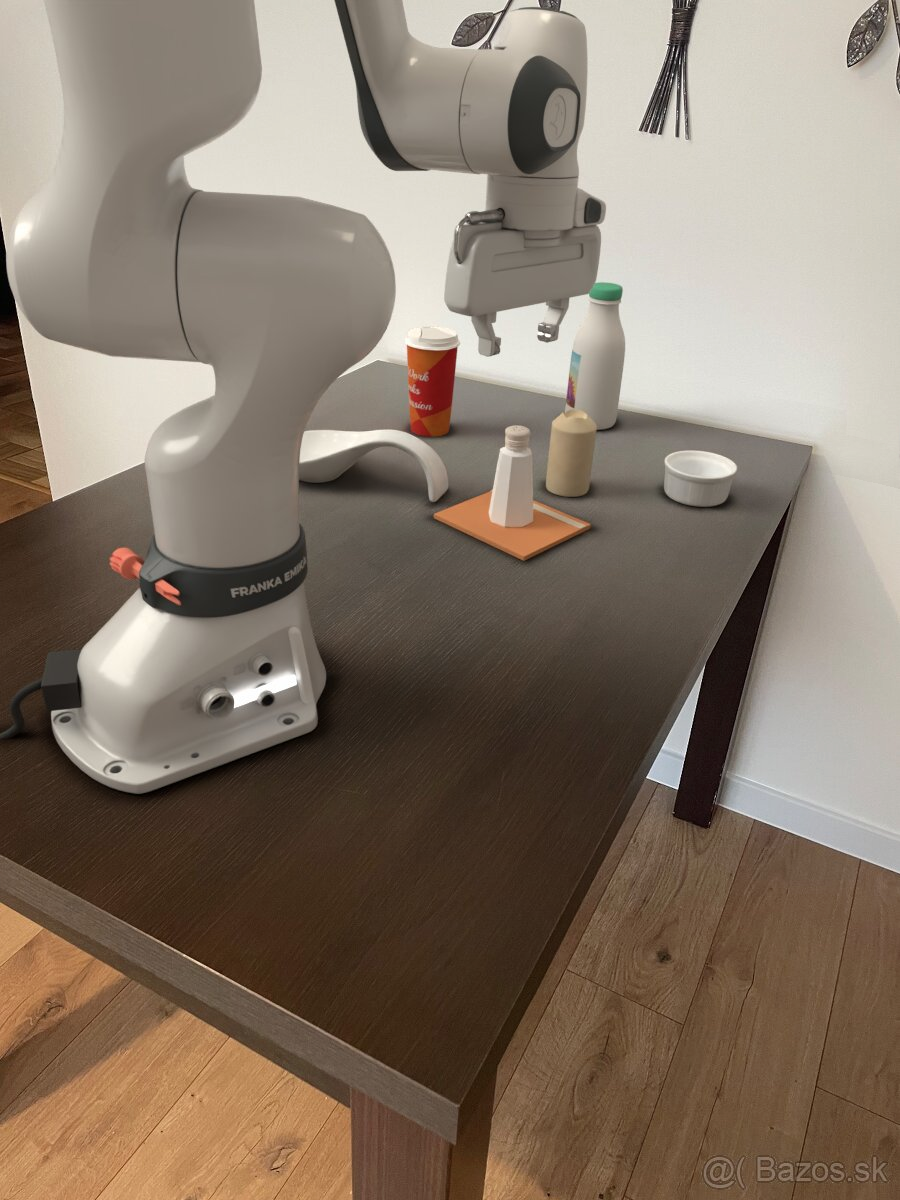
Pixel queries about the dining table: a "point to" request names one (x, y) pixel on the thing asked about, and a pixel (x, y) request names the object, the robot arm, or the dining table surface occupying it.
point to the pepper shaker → (513, 481)
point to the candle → (571, 454)
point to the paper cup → (431, 378)
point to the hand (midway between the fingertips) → (518, 347)
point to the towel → (515, 541)
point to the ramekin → (698, 477)
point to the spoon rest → (341, 449)
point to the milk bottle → (598, 358)
